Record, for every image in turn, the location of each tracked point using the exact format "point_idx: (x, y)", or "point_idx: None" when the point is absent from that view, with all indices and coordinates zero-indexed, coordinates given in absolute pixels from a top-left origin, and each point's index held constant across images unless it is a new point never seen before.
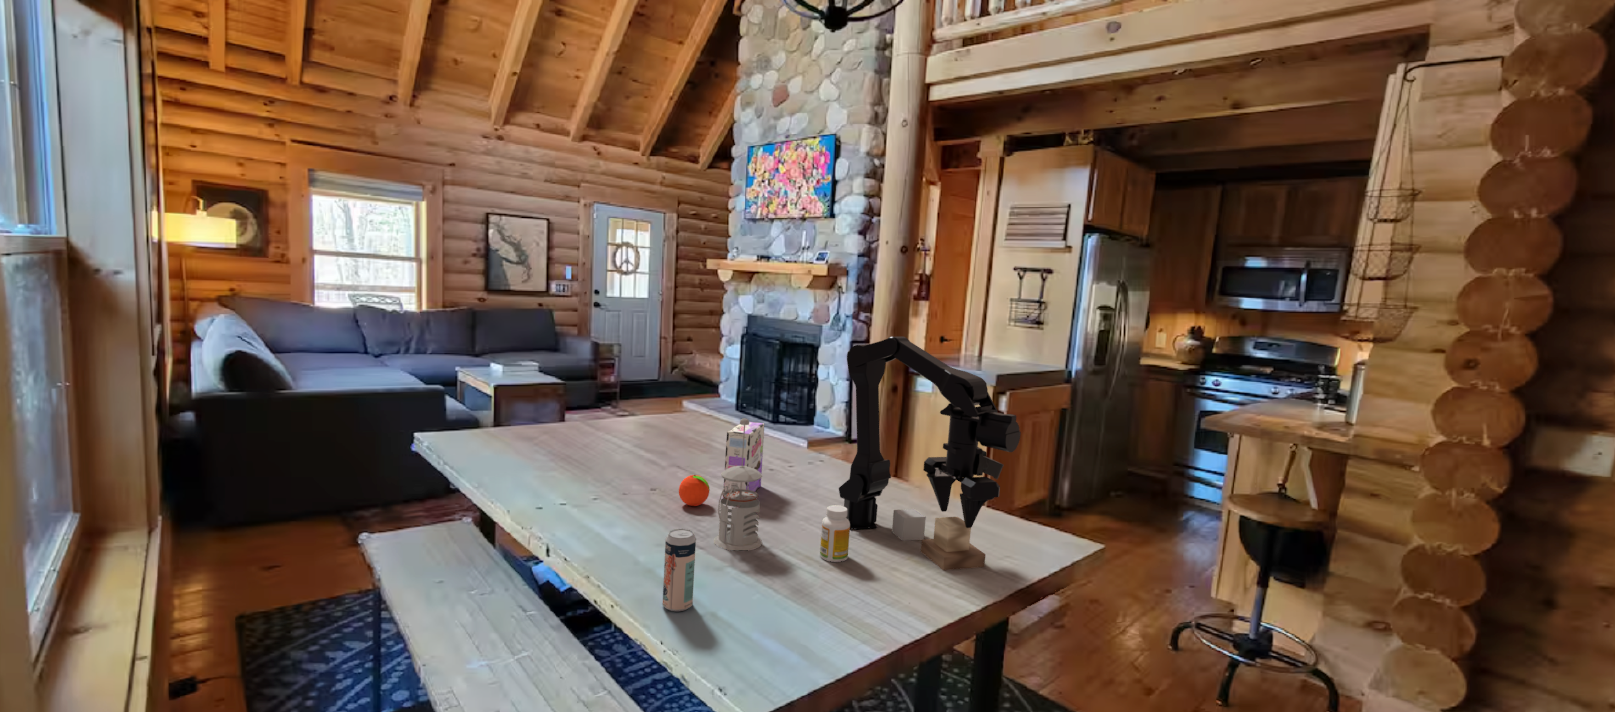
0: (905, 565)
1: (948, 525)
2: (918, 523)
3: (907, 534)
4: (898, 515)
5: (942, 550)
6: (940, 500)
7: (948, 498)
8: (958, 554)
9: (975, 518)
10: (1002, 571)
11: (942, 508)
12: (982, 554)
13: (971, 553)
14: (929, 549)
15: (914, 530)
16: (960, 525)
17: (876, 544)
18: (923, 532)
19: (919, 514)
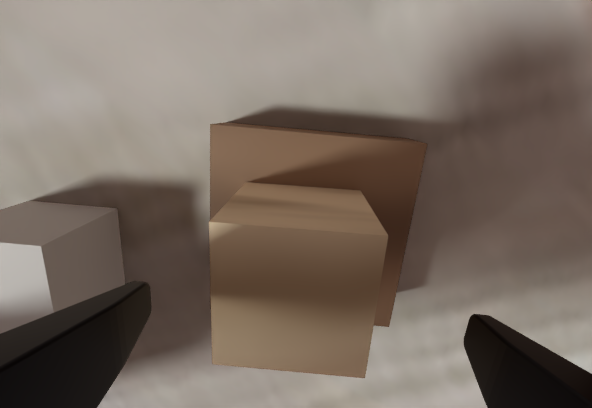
0: (311, 375)
1: (344, 366)
2: (72, 264)
3: (110, 284)
4: None
5: None
6: (95, 397)
7: (70, 340)
8: (385, 261)
9: (573, 368)
10: (472, 91)
11: (140, 328)
12: (423, 160)
13: (394, 201)
14: None
15: (96, 264)
16: (365, 302)
17: (148, 372)
18: (98, 220)
19: (8, 258)
